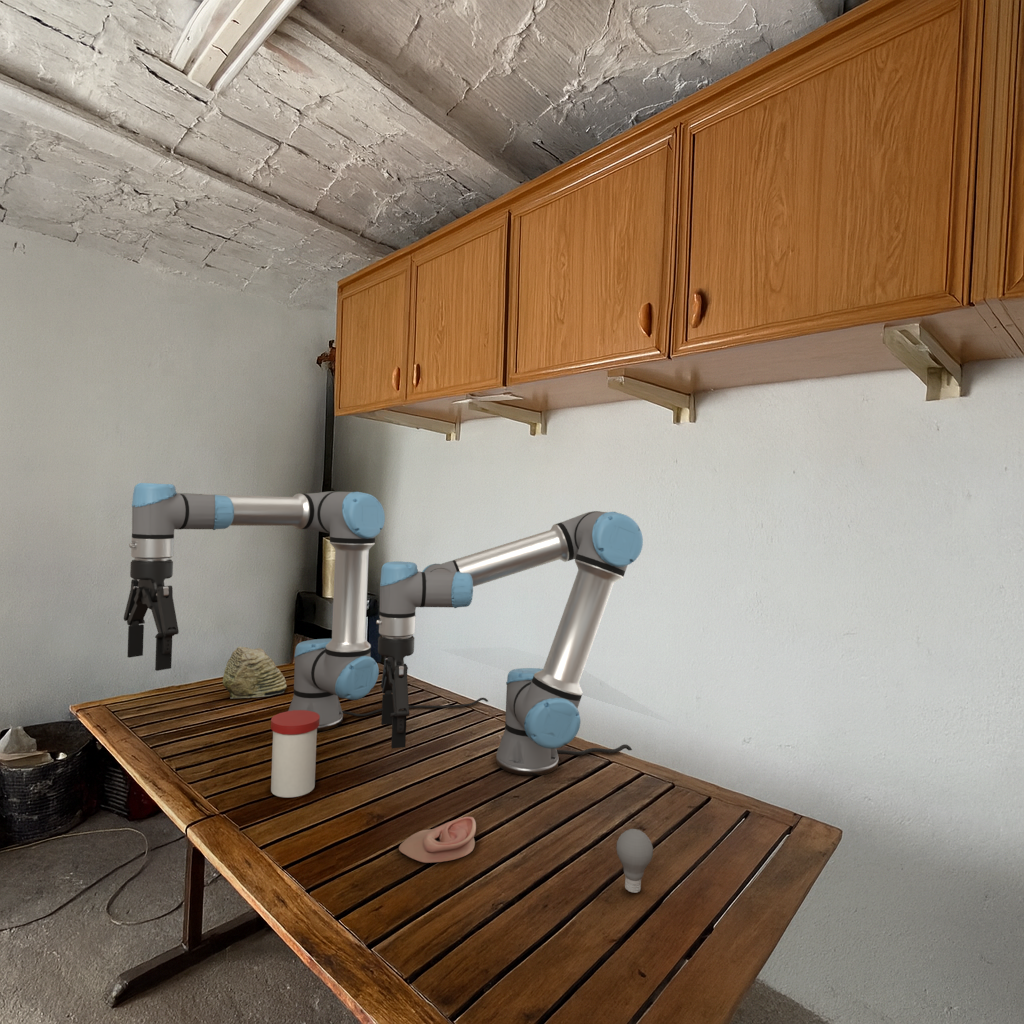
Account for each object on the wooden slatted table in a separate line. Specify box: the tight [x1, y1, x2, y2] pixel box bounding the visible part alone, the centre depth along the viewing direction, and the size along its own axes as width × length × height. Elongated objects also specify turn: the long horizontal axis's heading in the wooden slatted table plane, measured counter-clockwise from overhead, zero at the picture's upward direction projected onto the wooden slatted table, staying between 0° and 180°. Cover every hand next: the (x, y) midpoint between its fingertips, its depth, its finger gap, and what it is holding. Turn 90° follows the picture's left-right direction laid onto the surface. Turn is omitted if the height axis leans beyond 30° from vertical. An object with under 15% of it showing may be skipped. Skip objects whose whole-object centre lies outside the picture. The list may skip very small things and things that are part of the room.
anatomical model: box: [398, 816, 477, 864], centre depth 116 cm, size 13×4×12 cm
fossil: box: [222, 646, 288, 699], centre depth 198 cm, size 9×18×15 cm, turn 132°
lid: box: [270, 710, 320, 735], centre depth 137 cm, size 10×10×2 cm
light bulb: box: [615, 828, 654, 894], centre depth 106 cm, size 6×6×10 cm
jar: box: [270, 729, 318, 798], centre depth 137 cm, size 9×9×15 cm
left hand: (148, 662), depth 129 cm, fingers open, 13 cm apart
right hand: (392, 735), depth 134 cm, fingers open, 13 cm apart
